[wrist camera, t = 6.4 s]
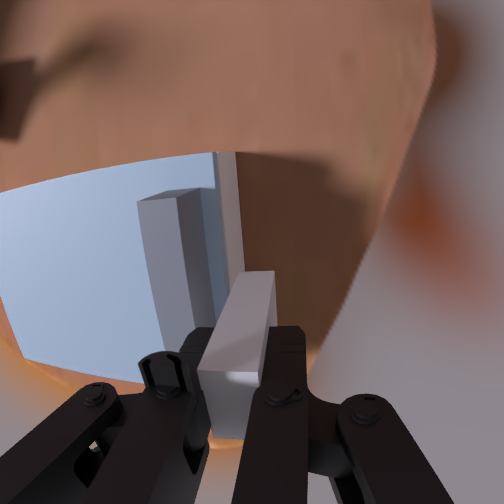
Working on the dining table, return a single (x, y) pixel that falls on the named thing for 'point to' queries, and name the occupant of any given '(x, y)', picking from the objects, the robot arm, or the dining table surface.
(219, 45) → the dining table surface
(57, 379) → the dining table surface
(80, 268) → the lid
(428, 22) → the dining table surface
